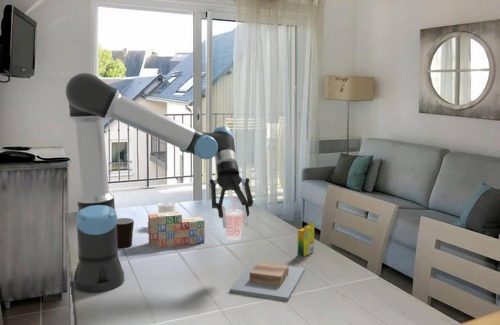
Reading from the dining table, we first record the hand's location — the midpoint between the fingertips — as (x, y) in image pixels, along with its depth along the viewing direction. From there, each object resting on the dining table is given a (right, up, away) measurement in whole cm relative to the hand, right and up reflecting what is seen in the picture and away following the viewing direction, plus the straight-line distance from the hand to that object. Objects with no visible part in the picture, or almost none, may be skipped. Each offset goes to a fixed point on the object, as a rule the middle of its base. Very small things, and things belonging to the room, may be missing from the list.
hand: (235, 225), depth 145 cm
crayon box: (+25, -15, +27) cm, 40 cm away
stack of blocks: (-25, -12, +38) cm, 47 cm away
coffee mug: (-45, -13, +35) cm, 58 cm away
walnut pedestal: (+11, -18, +2) cm, 21 cm away
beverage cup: (-1, -5, +4) cm, 7 cm away
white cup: (-33, -9, +61) cm, 70 cm away
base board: (+11, -18, +2) cm, 21 cm away
